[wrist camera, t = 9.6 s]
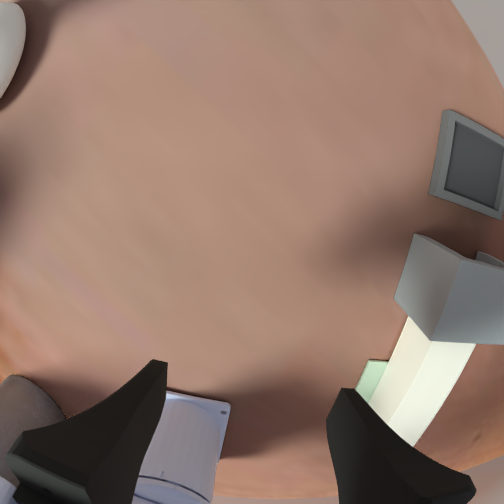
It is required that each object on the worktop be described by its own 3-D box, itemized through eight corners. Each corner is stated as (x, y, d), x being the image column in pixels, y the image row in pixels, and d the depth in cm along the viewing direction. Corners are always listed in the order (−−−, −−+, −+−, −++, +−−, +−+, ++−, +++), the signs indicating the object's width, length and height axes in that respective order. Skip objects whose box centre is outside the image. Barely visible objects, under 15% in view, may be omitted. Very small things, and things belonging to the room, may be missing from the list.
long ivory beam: (396, 422, 25) (409, 451, 21) (356, 423, 25) (366, 455, 21) (451, 317, 21) (476, 341, 18) (410, 312, 21) (433, 339, 17)
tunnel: (467, 309, 22) (506, 344, 16) (393, 298, 21) (429, 340, 15) (487, 253, 20) (534, 279, 14) (414, 233, 20) (461, 259, 14)
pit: (493, 218, 19) (501, 220, 18) (428, 194, 19) (435, 195, 18) (507, 145, 17) (514, 145, 17) (442, 111, 17) (449, 109, 16)
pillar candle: (79, 443, 28) (33, 536, 13) (22, 424, 28) (-29, 498, 13) (51, 383, 25) (-22, 484, 10) (-7, 365, 25) (-77, 440, 10)
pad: (404, 428, 26) (404, 429, 25) (334, 429, 25) (334, 431, 25) (442, 363, 23) (443, 364, 23) (368, 359, 23) (369, 361, 23)
